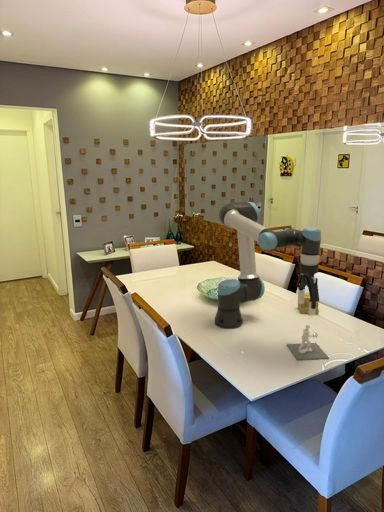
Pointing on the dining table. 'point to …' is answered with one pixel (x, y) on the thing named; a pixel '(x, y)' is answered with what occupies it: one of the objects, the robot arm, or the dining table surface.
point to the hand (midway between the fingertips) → (306, 309)
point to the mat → (308, 355)
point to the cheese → (306, 305)
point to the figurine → (305, 338)
